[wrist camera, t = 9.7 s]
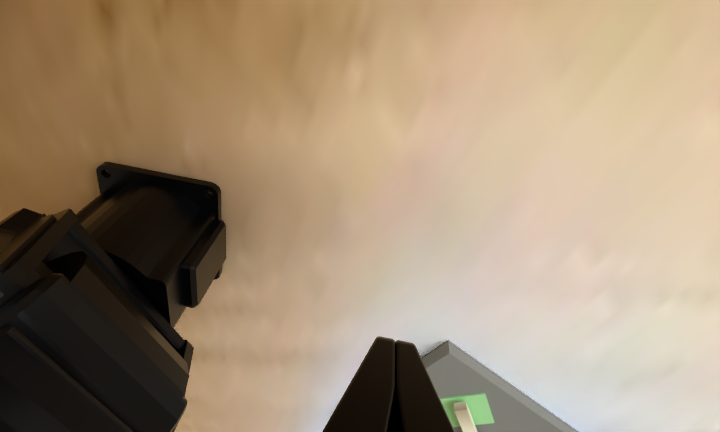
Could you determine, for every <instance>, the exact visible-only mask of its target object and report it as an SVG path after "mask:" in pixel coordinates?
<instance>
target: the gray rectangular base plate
mask: <svg viewBox="0 0 720 432" xmlns="http://www.w3.org/2000/svg"><path fill="white" fill-rule="evenodd" d="M421 359H422V361H423V364H424V366H425V368H426V370H427V372H428V374H429V377H430V379H431V381H432V383H433V385H434V387H435V390H436V392H437V394H438V396H439V398H440V400H441V403H442V405H443V407H444V409H445V411H446V414H447V416H448V418H449V420H450V422H451V424H452V427H453V429H454V431H455V432H463V431H462V428H461V426H460V423H459V421H458V419H457V416H456V414H455V411H454V403H457V402H465V401H466V403H467V406H468V408H469V411H470V413H471V416H472V418H473V421H474V423H475V426H476V429H477V431H478V432H578V431H576V430H575V429H574V428H572V427H571V426H569V425H568V424H566V423H565V422H564V421H562V420H561V419H559V418H558V417H557V416H555V415H554V414H552V413H551V412H549V411H548V410H547V409H545V408H544V407H542V406H541V405H539V404H538V403H537V402H535V401H534V400H532V399H531V398H529V397H528V396H527V395H525V394H524V393H522V392H521V391H519V390H518V389H517V388H515V387H514V386H512V385H511V384H510V383H508V382H507V381H505V380H504V379H502V378H501V377H500V376H498V375H497V374H495V373H494V372H492V371H491V370H490V369H488V368H487V367H485V366H484V365H482V364H481V363H480V362H478V361H477V360H475V359H474V358H472V357H471V356H470V355H468V354H467V353H465V352H464V351H463V350H461V349H460V348H458V347H457V346H455V345H454V344H453V343H451V342H450V341H447V342H446V343H444V344H443V345H441V346H440V347H438V348H437V349H435V350H433V351H432V352H430V353H429V354H427V355H426V356H424V357H423V358H421Z"/></svg>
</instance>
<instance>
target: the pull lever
mask: <svg viewBox="0 0 720 432" xmlns="http://www.w3.org/2000/svg"><path fill="white" fill-rule="evenodd" d="M454 411H455V414H456V416H457V419H458V421H459V423H460V426H461V428H462V431H463V432H478V431H477V429H476V426H475V423H474V421H473V418H472V416H471V413H470V411H469V408H468V406H467V403H466V401H465V402H457V403H454Z"/></svg>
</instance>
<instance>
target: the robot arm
mask: <svg viewBox="0 0 720 432" xmlns="http://www.w3.org/2000/svg"><path fill="white" fill-rule="evenodd" d="M106 170H107V171H109V172H110V174H111V175H110V174H108V173H107V172H106ZM97 177H98V182H99V188H100V193H101V195H99V196H98V197H97V198H96V199H94V200H93V201H92V202H91V203H90V204H88V205H87V206H86V207H85V208H83V209H82V210H81V211H80V212H79V213H77V214H76V215H75V214H74V212H73V211H72V210H71V209H70V208H69V209H67V210H64V211H62V212H59V213H57V214H55V215H53V214H52V215H48V216H46V215H45V214H39V213H36V212H33V211H31V210H28V209H25V208H23V209H21V210H19V211H17V212H15V213H13V214H11V215H10V216H9V217H7V218H6V219H4V220H3V221H1V222H0V432H174V430H175V428H176V426H177V424H178V422H179V420H180V419H181V417H182V415H183V413H184V411H185V409H186V405H187V400H186V399H185V398H184V397H185V392H186V386H187V382H188V378H189V370H190V365H191V360H192V355H193V349H194V348H193V346H192V345H191V344H190V343H189V342H188V341H187V340H184V339H183V338H182V337H181V336H180V335H179V334H178V333H177V332H176V330H175V329H174V326H175V325H176V323H177V321H178V320H179V318H180V317H181V315H182V313H183V312H184V310H185V309H186V307H191V308H194V307H196V306H197V305H199V303H200V301H201V300H202V298H203V296H204V295H205V293H206V291H207V290H208V288H209V286H210V285H211V283H212V281H213V279H214V280H215V279H218V278H219V276H220V275H221V273H222V264H223V263H224V261H225V259H226V225H225V223H224V221H223V220H221V190H220V188H219V187H218V186H217V185H216V184H214V183H212V182H207V181H202V180H197V179H191V178H186V177H181V176H176V175H171V174H166V173H161V172H156V171H151V170H146V169H141V168H136V167H131V166H126V165H121V164H116V163H110V162H105V163H103V164H101V165H100V166H98V168H97ZM207 190H210V191H211V192H212V193H213V195H211V194H209V193H208V191H207ZM323 432H455V431H454V429H453V427H452V424H451V422H450V420H449V418H448V416H447V414H446V411H445V409H444V407H443V405H442V403H441V400H440V398H439V396H438V394H437V392H436V390H435V387H434V385H433V383H432V381H431V379H430V377H429V374H428V372H427V370H426V368H425V366H424V364H423V361H422V359H421V357H420V355H419V353H418V350H417V348H416V346H415V345H414V344H413V343H410V342H405V341H400V340H398V341H396V342H395V341H394V340H393V339H390V338H385V337H377V338H376V339H375V341H374V342H373V344H372V346H371V348H370V349H369V351H368V353H367V355H366V356H365V358H364V360H363V362H362V363H361V365H360V367H359V369H358V370H357V372H356V374H355V376H354V377H353V379H352V381H351V383H350V384H349V386H348V388H347V390H346V391H345V393H344V395H343V397H342V398H341V400H340V402H339V404H338V405H337V407H336V409H335V411H334V412H333V414H332V416H331V418H330V419H329V421H328V423H327V425H326V426H325V428H324V430H323Z"/></svg>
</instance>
